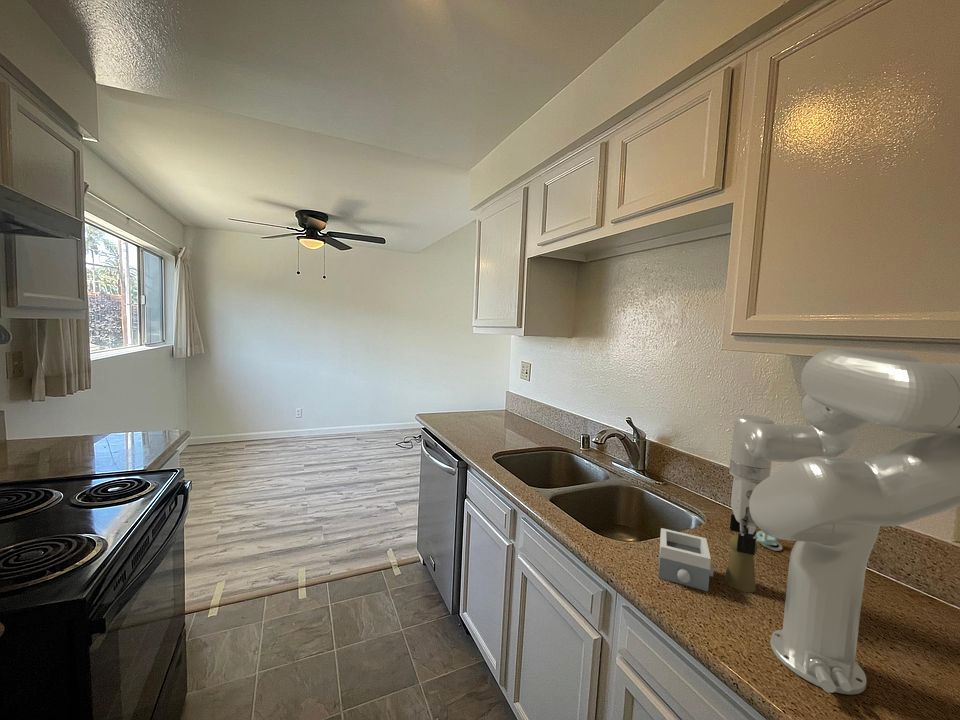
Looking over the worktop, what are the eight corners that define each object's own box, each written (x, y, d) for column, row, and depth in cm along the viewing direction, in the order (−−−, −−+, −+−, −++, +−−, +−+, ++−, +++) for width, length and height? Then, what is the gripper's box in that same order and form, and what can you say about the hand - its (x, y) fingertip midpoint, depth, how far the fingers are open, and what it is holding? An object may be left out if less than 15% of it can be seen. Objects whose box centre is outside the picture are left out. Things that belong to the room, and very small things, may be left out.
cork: (755, 596, 85) (759, 548, 84) (723, 584, 88) (727, 538, 88) (756, 582, 89) (760, 537, 89) (725, 572, 93) (729, 528, 92)
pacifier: (781, 544, 108) (755, 536, 112) (784, 523, 107) (758, 515, 111) (782, 555, 102) (754, 546, 106) (785, 533, 102) (757, 525, 105)
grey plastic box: (715, 596, 84) (717, 563, 83) (658, 580, 89) (660, 549, 88) (709, 569, 94) (711, 539, 94) (658, 556, 99) (661, 528, 98)
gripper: (780, 488, 78) (770, 567, 80) (760, 461, 94) (752, 528, 95) (736, 480, 81) (727, 556, 83) (724, 455, 97) (717, 520, 98)
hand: (741, 541), depth 89 cm, fingers open, 9 cm apart
